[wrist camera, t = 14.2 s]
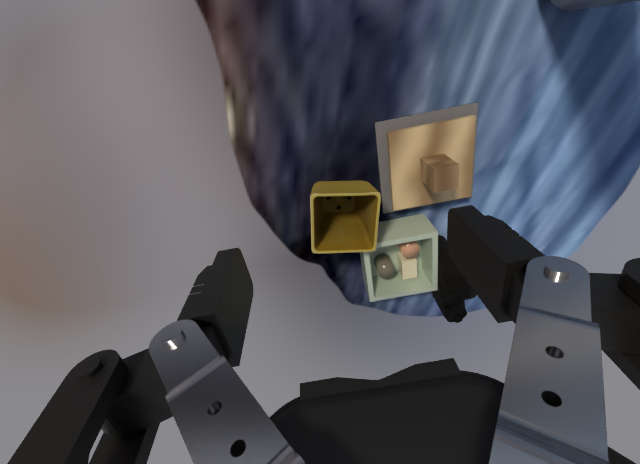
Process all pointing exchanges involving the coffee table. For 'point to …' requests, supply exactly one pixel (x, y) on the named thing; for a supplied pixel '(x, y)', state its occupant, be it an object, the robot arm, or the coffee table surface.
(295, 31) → the coffee table surface
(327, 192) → the flower pot
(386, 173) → the mat
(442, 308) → the film camera
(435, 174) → the lid
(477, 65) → the coffee table surface
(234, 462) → the robot arm
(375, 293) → the pale green open box
